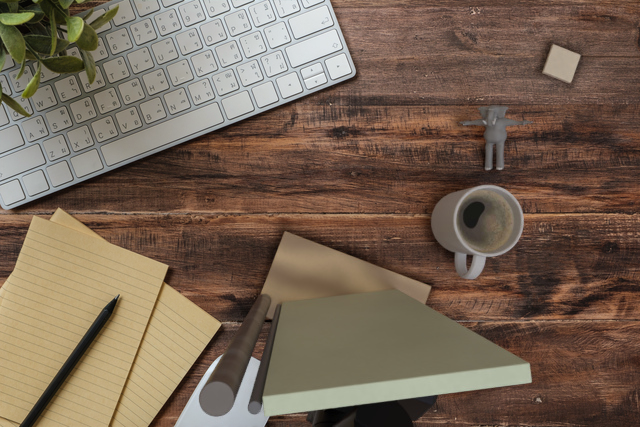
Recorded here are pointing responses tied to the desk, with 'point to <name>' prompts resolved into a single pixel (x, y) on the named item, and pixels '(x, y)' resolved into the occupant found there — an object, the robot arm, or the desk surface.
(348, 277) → the door stand
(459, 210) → the mug
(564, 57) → the coaster
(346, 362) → the door
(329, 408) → the robot arm
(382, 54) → the desk surface
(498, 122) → the elephant figurine
